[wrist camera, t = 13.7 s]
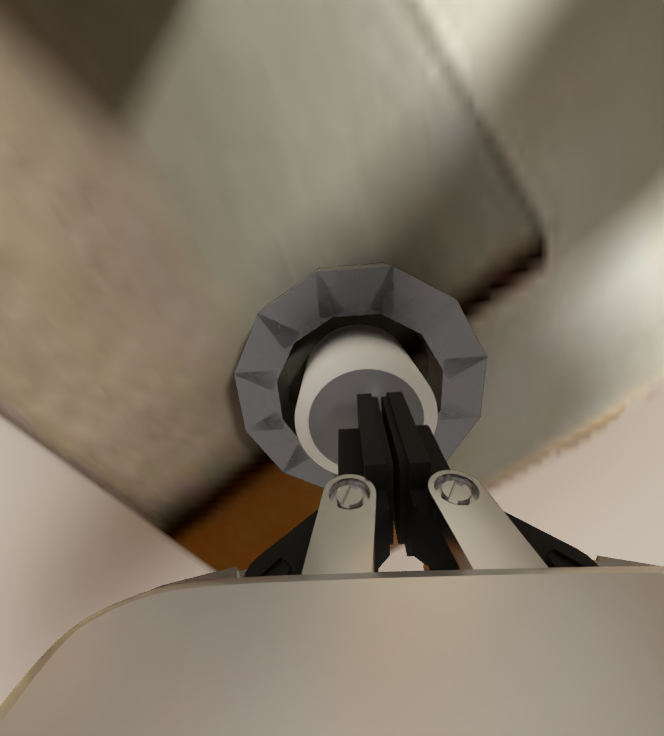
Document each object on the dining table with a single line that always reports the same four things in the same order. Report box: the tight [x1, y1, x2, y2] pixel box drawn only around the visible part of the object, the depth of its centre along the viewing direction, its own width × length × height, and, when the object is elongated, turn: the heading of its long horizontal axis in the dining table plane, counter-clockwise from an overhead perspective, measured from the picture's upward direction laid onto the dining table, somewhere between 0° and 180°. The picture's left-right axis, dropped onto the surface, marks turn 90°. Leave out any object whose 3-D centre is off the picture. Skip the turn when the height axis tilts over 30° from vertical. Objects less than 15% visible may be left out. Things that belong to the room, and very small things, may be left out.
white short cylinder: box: [295, 325, 438, 475], centre depth 15 cm, size 6×6×5 cm
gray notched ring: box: [234, 263, 487, 488], centre depth 16 cm, size 12×12×2 cm
